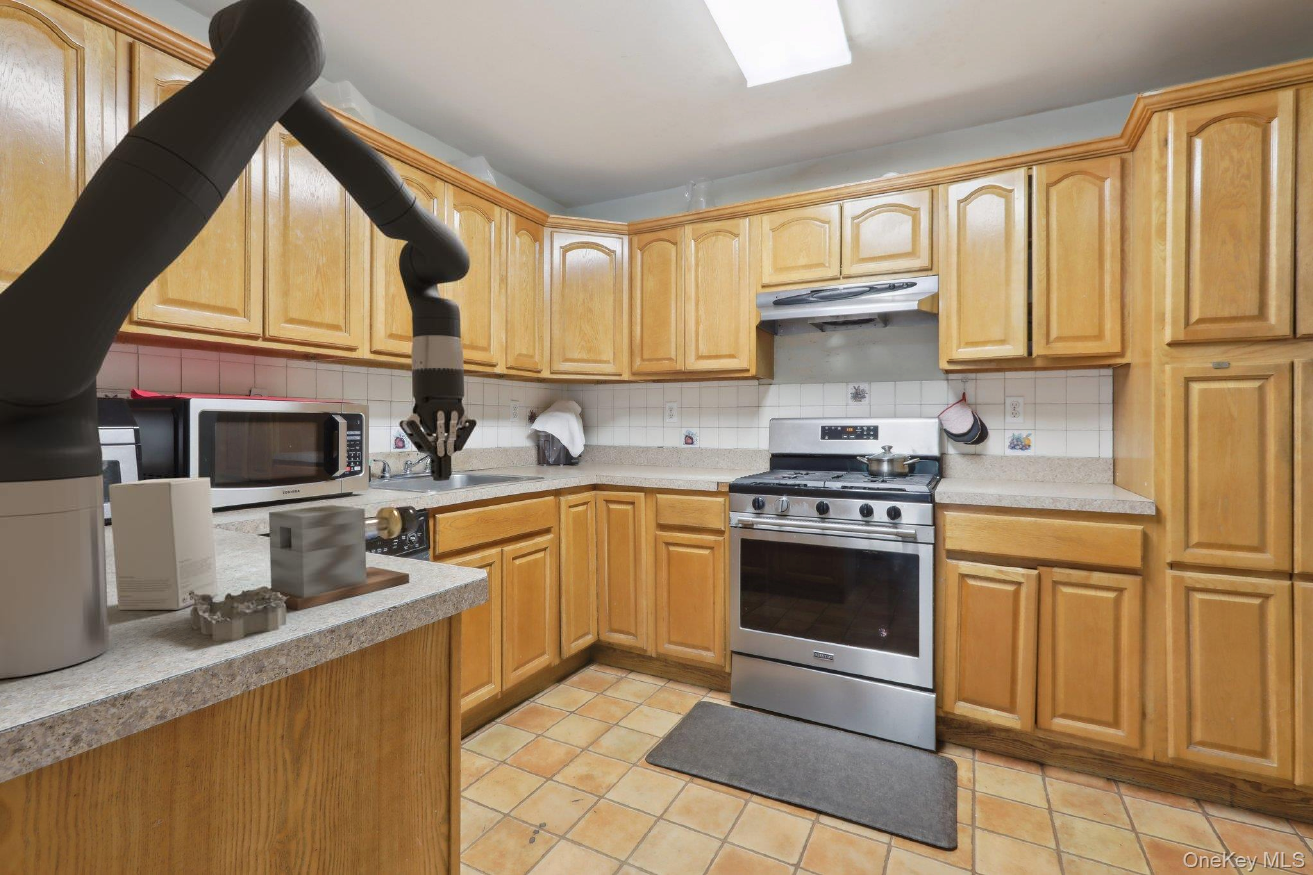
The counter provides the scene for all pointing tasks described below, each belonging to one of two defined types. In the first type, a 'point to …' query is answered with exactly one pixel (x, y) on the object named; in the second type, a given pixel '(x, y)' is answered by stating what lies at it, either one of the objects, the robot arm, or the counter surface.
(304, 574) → the bearing block
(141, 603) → the skincare box
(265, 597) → the egg carton
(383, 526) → the shaft
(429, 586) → the counter surface
